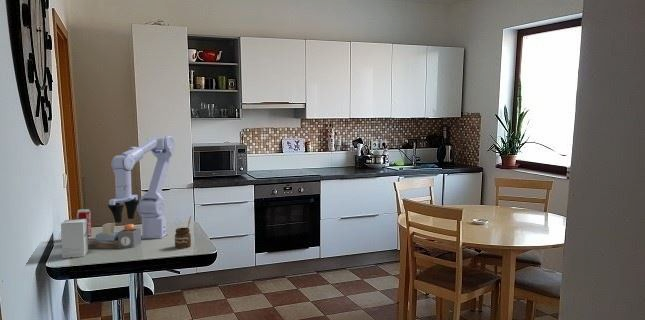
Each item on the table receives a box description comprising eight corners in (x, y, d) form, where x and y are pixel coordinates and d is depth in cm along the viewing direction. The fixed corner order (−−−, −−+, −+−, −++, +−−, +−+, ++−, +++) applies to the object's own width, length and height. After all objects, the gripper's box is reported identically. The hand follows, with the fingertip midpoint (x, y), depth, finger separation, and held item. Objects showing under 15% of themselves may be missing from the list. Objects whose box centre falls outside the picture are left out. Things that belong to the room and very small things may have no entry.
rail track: (126, 243, 186) (126, 231, 185) (117, 247, 178) (117, 236, 177) (84, 243, 186) (83, 232, 185) (73, 248, 178) (73, 236, 177)
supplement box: (84, 256, 165) (83, 221, 165) (61, 258, 163) (59, 223, 162) (88, 251, 172) (87, 218, 172) (66, 253, 170) (65, 219, 170)
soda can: (85, 239, 193) (84, 211, 192) (74, 239, 194) (73, 210, 193) (94, 236, 198) (93, 209, 197) (83, 236, 199) (82, 208, 198)
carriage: (122, 236, 185) (121, 222, 185) (114, 240, 178) (113, 225, 178) (104, 236, 185) (104, 222, 185) (96, 240, 178) (95, 226, 178)
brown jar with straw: (176, 245, 181) (175, 214, 181) (193, 244, 182) (192, 214, 181) (173, 248, 175) (172, 217, 175) (190, 248, 176) (189, 217, 175)
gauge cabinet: (140, 243, 185) (140, 228, 185) (133, 247, 178) (132, 232, 177) (125, 243, 185) (125, 228, 185) (117, 247, 178) (117, 232, 177)
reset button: (135, 229, 183) (135, 224, 183) (132, 231, 180) (131, 225, 179) (126, 229, 183) (126, 224, 183) (122, 231, 180) (122, 225, 179)
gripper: (120, 188, 172) (121, 224, 173) (143, 184, 186) (144, 217, 187) (103, 188, 174) (105, 223, 175) (128, 183, 188) (129, 216, 189)
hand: (124, 220), depth 181 cm, fingers open, 7 cm apart
